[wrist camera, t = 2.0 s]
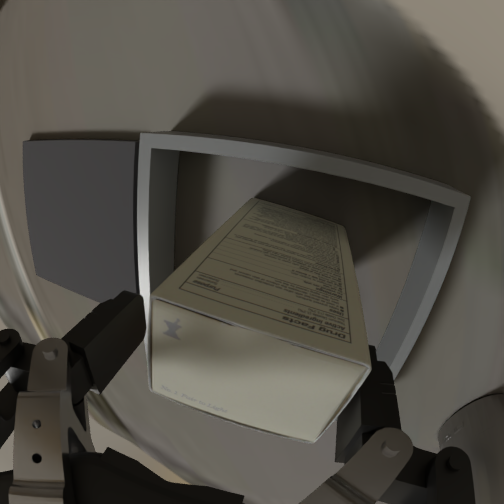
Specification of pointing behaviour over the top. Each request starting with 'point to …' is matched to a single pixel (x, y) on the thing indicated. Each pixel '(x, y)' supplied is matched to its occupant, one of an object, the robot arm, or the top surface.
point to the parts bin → (442, 195)
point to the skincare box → (262, 324)
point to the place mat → (83, 214)
